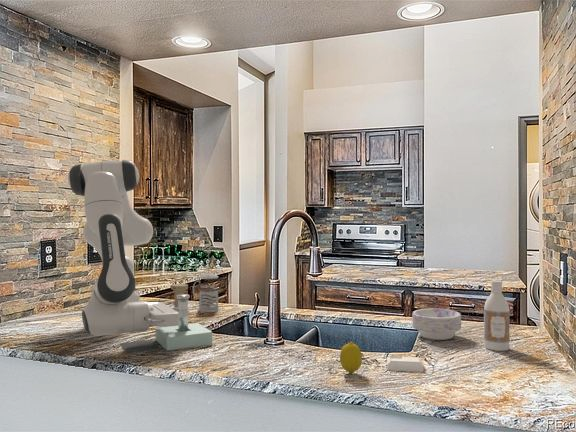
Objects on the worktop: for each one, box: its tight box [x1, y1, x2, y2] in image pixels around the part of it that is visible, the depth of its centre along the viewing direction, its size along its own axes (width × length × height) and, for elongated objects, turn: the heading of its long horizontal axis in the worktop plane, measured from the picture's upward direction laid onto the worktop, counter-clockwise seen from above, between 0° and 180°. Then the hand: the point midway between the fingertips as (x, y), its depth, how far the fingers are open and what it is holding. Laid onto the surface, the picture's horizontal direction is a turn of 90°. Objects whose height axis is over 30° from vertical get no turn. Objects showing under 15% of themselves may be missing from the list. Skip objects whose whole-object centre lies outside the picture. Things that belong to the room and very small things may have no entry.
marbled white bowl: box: [411, 308, 462, 341], centre depth 160 cm, size 15×15×8 cm
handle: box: [170, 283, 189, 326], centre depth 175 cm, size 5×6×15 cm
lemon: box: [339, 341, 363, 374], centre depth 124 cm, size 6×6×8 cm
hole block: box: [154, 322, 213, 351], centre depth 154 cm, size 14×14×4 cm
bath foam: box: [483, 279, 511, 352], centre depth 146 cm, size 7×7×20 cm
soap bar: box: [386, 356, 425, 373], centre depth 128 cm, size 5×9×3 cm, turn 80°
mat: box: [118, 338, 162, 354], centre depth 150 cm, size 12×10×1 cm
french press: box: [192, 249, 221, 313], centre depth 206 cm, size 10×12×25 cm
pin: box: [177, 293, 191, 331], centre depth 154 cm, size 4×4×11 cm
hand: (185, 311), depth 154 cm, fingers closed on pin, 3 cm apart
